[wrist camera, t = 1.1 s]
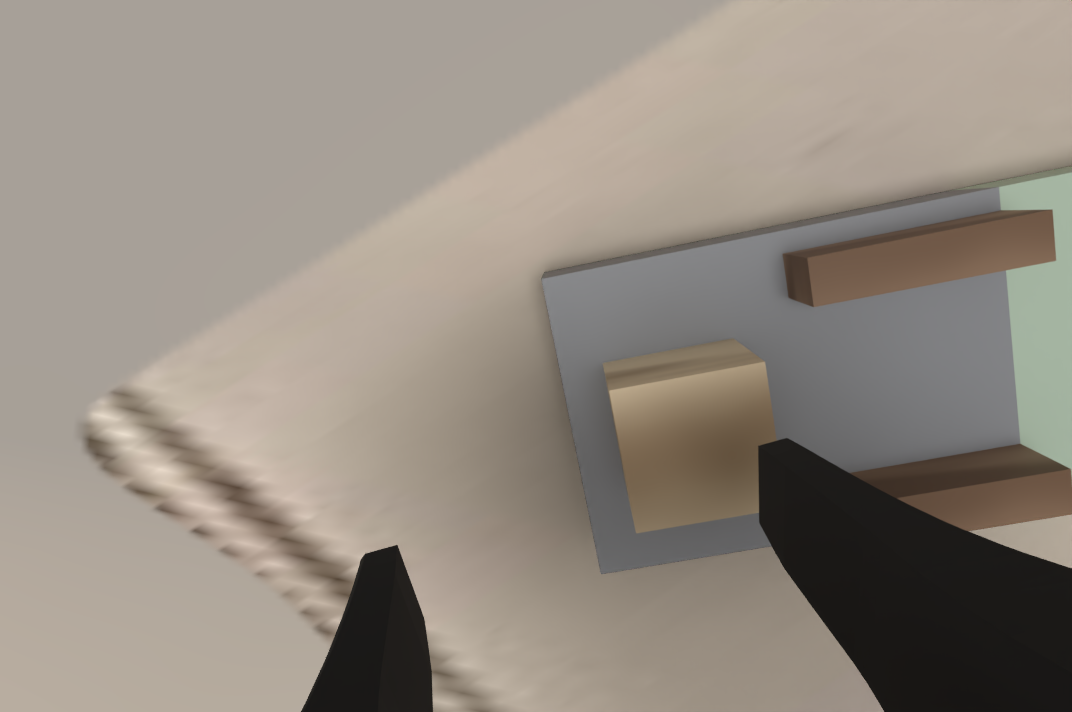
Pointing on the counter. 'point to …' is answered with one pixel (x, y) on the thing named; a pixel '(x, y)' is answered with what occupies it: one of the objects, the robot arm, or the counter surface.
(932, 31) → the counter surface
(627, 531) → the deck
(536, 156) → the counter surface
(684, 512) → the maple block
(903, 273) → the brown rectangular blocks
